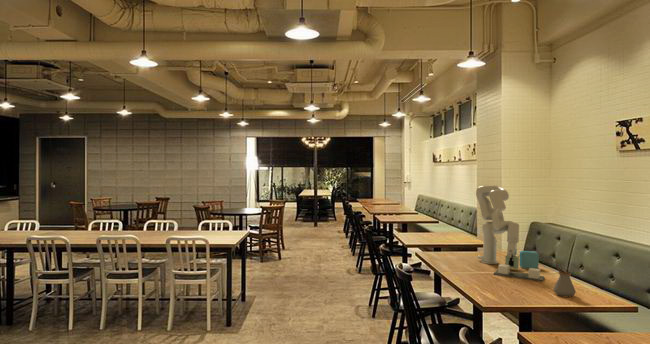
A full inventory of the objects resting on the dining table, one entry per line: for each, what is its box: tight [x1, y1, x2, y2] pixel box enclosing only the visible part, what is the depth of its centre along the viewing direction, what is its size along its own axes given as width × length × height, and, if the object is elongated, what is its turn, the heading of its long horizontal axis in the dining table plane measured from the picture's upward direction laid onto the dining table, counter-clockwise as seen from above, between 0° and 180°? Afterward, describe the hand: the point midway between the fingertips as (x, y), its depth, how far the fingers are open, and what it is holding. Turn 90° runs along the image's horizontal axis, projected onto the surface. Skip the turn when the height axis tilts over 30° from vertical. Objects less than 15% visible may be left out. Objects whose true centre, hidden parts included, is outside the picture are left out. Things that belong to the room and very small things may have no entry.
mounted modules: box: [497, 263, 541, 279], centre depth 293 cm, size 25×7×5 cm, turn 56°
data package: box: [519, 250, 540, 269], centre depth 320 cm, size 12×4×12 cm, turn 82°
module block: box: [504, 254, 520, 270], centre depth 310 cm, size 8×4×8 cm, turn 56°
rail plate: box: [493, 268, 545, 283], centre depth 293 cm, size 30×10×2 cm, turn 56°
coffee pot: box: [552, 263, 576, 297], centre depth 257 cm, size 21×12×15 cm, turn 169°
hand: (511, 265), depth 310 cm, fingers closed on module block, 4 cm apart
